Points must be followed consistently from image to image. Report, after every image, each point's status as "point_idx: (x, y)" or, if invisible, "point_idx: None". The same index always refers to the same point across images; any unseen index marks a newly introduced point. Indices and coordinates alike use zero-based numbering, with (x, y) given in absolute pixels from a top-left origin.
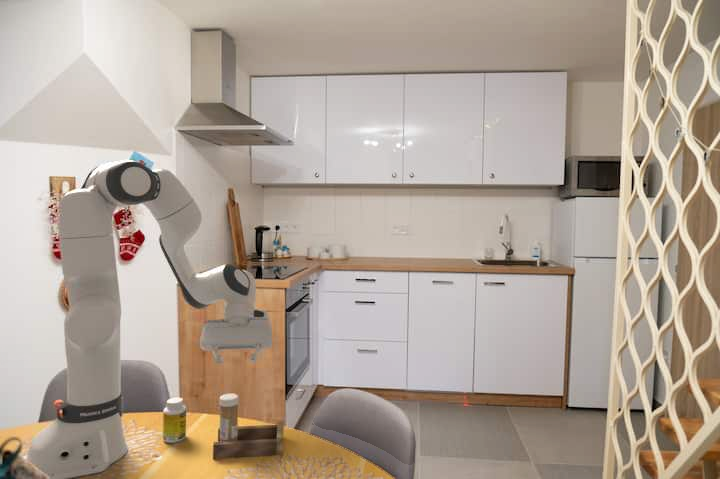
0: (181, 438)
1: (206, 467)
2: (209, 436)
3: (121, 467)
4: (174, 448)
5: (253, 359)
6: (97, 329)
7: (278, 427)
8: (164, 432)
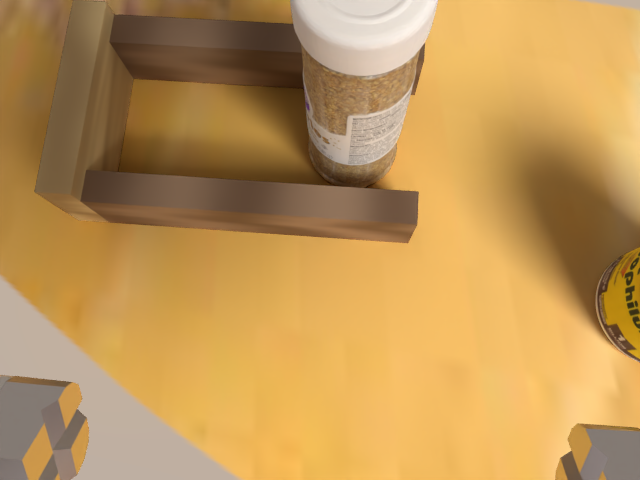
0: (610, 266)
1: (435, 12)
2: (463, 302)
3: None
4: (618, 201)
5: (23, 380)
6: None
7: (79, 108)
8: None
